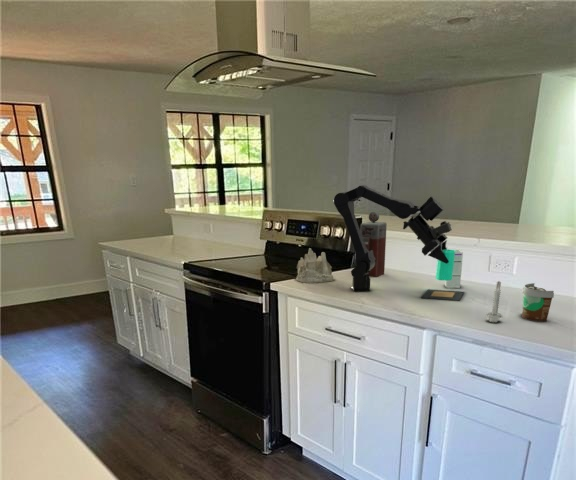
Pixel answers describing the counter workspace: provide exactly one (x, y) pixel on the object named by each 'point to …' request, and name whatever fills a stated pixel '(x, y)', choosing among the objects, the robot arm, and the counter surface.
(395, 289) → the counter surface
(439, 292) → the mat
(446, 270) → the candle
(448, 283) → the grey tower
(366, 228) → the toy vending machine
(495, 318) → the screw
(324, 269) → the sand castle
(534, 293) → the food container
